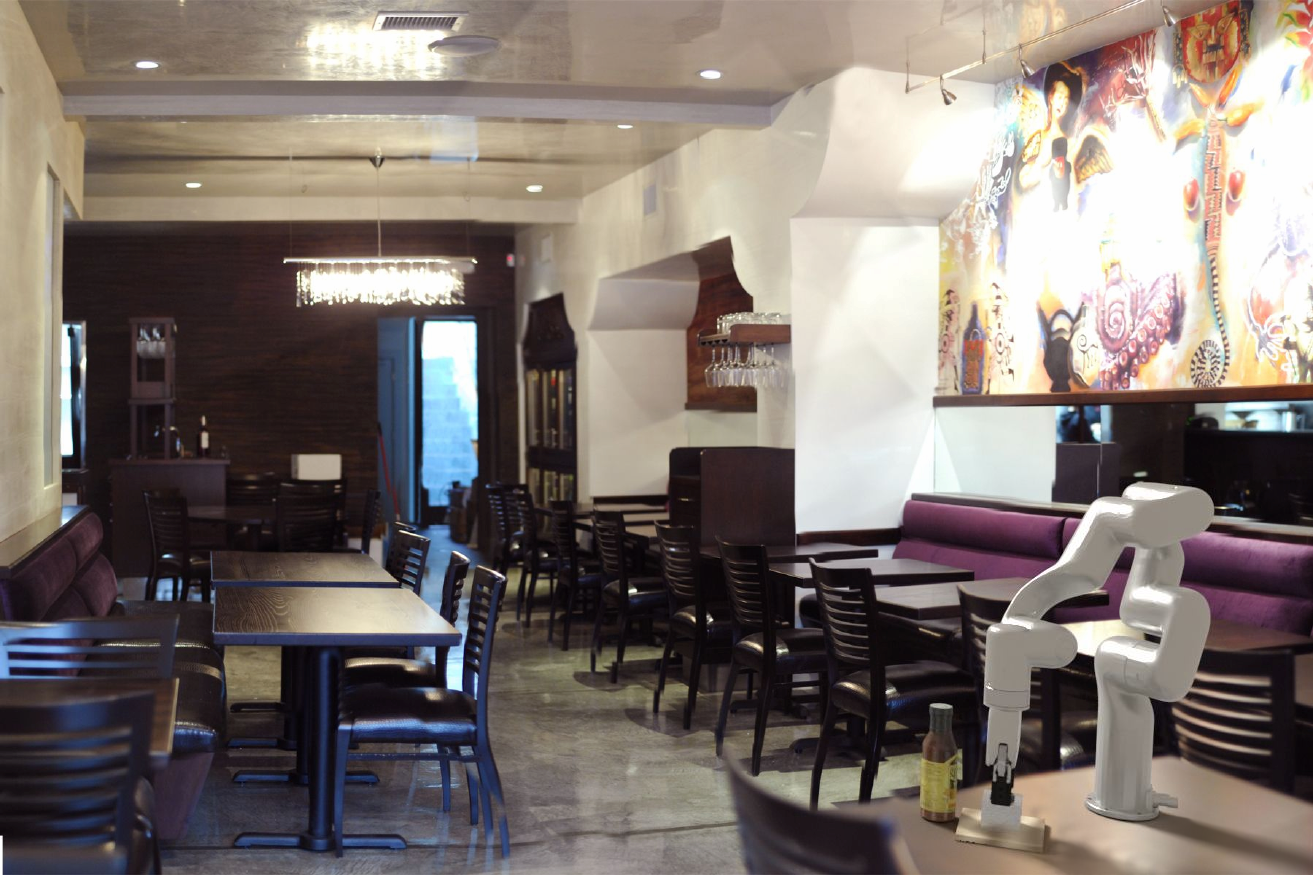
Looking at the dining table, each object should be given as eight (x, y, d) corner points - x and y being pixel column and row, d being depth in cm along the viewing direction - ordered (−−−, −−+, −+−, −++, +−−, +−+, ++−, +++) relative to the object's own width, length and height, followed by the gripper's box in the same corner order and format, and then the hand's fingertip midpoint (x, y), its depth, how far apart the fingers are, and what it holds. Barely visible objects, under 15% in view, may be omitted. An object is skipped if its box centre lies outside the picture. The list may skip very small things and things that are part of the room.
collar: (1021, 822, 209) (1022, 794, 208) (1019, 835, 203) (1021, 805, 202) (983, 817, 211) (984, 789, 210) (980, 829, 205) (981, 800, 204)
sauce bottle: (956, 825, 209) (960, 712, 208) (919, 821, 210) (924, 709, 210) (954, 812, 216) (959, 702, 215) (919, 809, 217) (923, 699, 216)
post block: (1044, 824, 211) (1046, 784, 211) (1042, 852, 198) (1044, 810, 197) (962, 812, 215) (964, 774, 215) (955, 839, 202) (956, 798, 202)
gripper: (987, 683, 215) (983, 777, 216) (980, 706, 199) (975, 808, 199) (1031, 687, 213) (1027, 783, 213) (1027, 712, 196) (1023, 815, 197)
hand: (1002, 795), depth 206 cm, fingers open, 9 cm apart
